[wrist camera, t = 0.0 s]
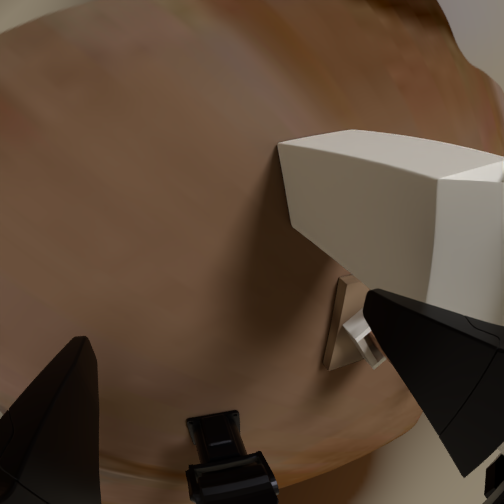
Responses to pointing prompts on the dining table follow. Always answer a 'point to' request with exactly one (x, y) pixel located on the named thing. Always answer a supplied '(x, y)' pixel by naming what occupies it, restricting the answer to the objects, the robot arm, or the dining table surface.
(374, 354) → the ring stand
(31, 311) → the dining table surface
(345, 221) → the milk carton
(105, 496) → the dining table surface
